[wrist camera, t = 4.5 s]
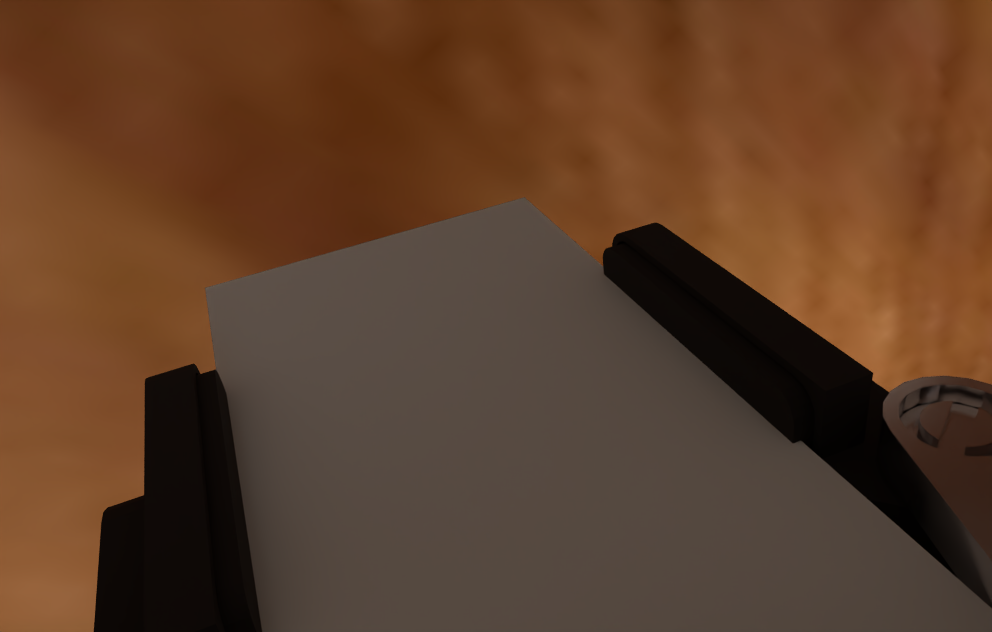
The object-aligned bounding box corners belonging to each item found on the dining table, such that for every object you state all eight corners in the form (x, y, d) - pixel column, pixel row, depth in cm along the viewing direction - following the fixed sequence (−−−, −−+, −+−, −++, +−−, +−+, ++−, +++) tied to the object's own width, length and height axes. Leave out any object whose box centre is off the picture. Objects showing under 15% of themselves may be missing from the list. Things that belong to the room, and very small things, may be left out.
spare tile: (204, 288, 12) (338, 1270, 4) (525, 197, 13) (1182, 776, 5) (246, 397, 13) (422, 1352, 5) (538, 304, 14) (1096, 931, 6)
